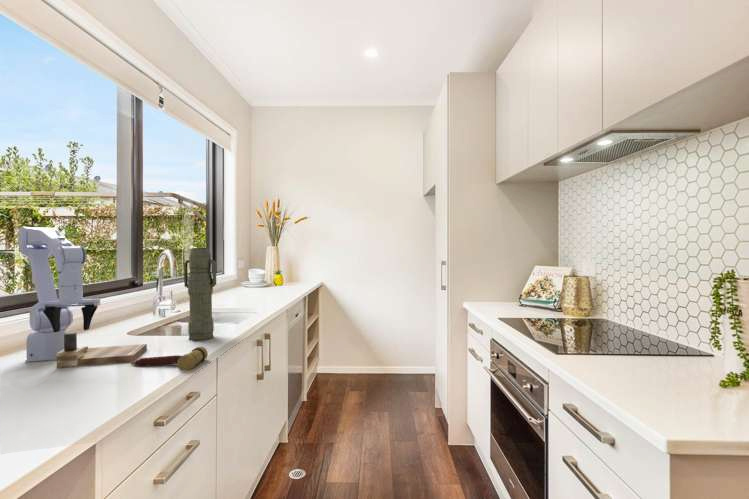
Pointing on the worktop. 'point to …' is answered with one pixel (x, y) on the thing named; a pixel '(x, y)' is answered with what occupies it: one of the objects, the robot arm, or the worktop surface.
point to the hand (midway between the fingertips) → (71, 330)
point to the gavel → (175, 359)
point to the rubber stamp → (70, 351)
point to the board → (111, 354)
